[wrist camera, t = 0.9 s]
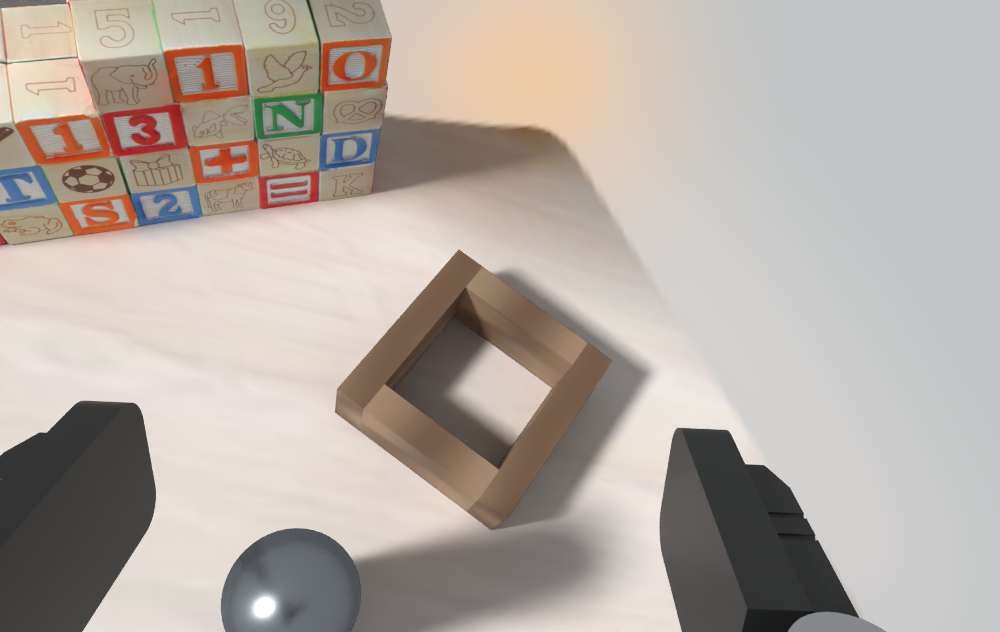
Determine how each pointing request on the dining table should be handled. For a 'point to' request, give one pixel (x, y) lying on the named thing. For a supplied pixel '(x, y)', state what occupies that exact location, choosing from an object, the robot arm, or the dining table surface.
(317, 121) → the stack of blocks
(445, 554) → the dining table surface
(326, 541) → the brushed steel post
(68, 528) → the robot arm
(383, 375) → the wooden square frame
